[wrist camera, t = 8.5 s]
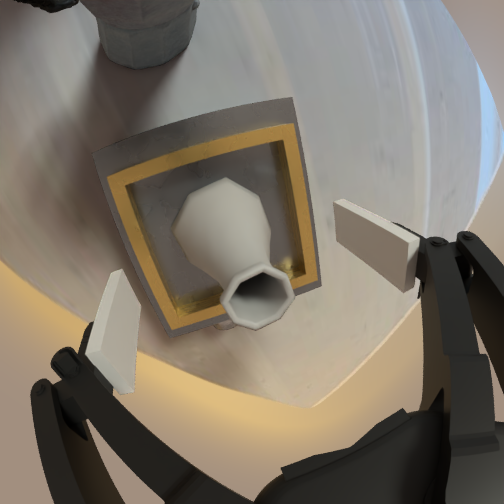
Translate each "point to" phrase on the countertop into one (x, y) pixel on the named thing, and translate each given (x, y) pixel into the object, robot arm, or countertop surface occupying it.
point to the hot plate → (196, 177)
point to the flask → (234, 251)
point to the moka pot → (137, 27)
